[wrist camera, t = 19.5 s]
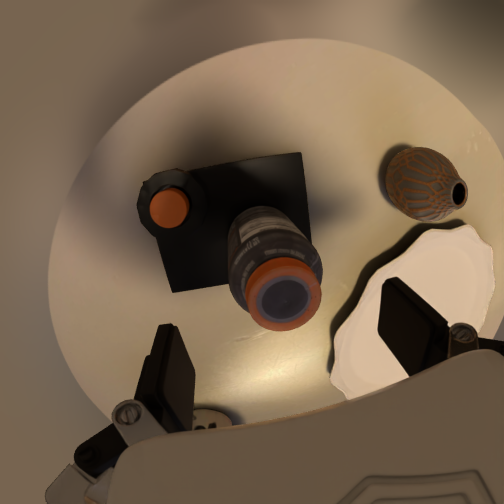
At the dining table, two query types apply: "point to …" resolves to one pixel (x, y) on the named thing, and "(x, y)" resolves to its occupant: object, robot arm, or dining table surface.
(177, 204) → the button
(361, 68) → the dining table surface
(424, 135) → the dining table surface
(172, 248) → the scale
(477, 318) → the plate
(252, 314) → the pill bottle
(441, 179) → the vase
